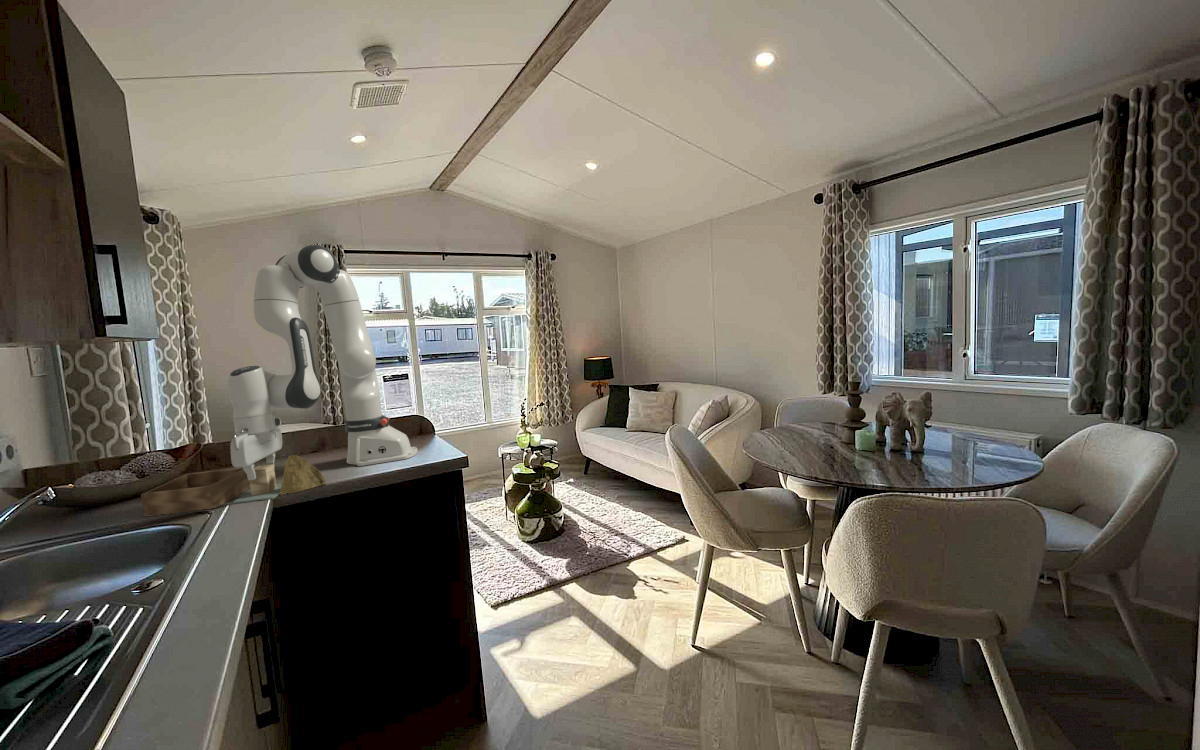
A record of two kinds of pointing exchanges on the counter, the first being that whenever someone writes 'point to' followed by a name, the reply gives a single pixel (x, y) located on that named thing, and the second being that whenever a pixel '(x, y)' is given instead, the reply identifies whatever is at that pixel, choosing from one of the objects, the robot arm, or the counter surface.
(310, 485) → the rock
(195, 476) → the crate
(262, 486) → the block
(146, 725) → the counter surface
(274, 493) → the mat
